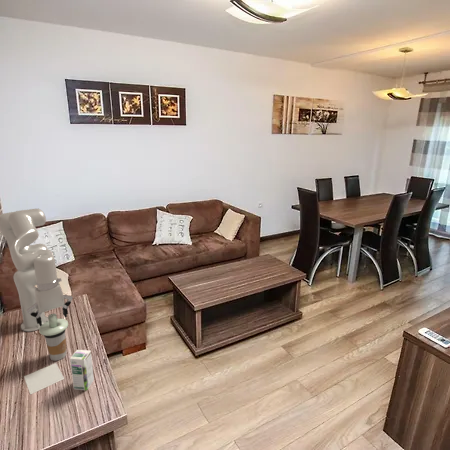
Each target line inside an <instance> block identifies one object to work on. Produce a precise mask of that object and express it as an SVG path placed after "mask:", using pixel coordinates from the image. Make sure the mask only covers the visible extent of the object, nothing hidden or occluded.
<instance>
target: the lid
mask: <svg viewBox="0 0 450 450" xmlns="http://www.w3.org/2000/svg"><path fill="white" fill-rule="evenodd" d="M47 317H48V320H49V321H47V322H45V323H44V324H42V326H40V328H39V330H38V331H39V334H40V335H42V336H44V335H45V336H51V335H55V334H58V333H61V332H63V331H64V330H65V331H66V329H67V328H68V327H69V321H68V320H67V319H65V318H58V316H57V313H51V314H49V315H48V316H47Z"/></svg>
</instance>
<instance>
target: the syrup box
mask: <svg viewBox="0 0 450 450" xmlns="http://www.w3.org/2000/svg"><path fill="white" fill-rule="evenodd" d="M69 365H70V369H71V378H72V386H73V389H74V390H77V391H88V390H89V388H90V387H91V385H92V384H93V382H94V381H95V377H94V368H93V367H94V366H93V359H92V350H87V349H76V351H74V353H72V356H70V358H69Z"/></svg>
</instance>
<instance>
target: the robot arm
mask: <svg viewBox="0 0 450 450" xmlns="http://www.w3.org/2000/svg"><path fill="white" fill-rule="evenodd" d="M46 221H47V218H46V215H45V213H44V211H43V210H42V209H40V208H30V209H22V210H16V211H11V212H5V213H1V214H0V233H1V235H2V236H3V237H4V239H5V241H6V243H7V245H8V250H9V252H10V253H9V254H10V257H11V260H12V263H13V264H14V267H15V268H16V270H17V271H15V272H14V274H13V281H14V284H15V288H16V290H17V293H18V299H19V303H20V304H19V305H20V307H21V313H22V320H23V322H22V323H21V324H20V329H21V330H22V331H23V332H34V331H39V328H40V326H42V324H44V323H45V322H47V321H49V320H48V316H47V315H46V313H45V312H49V311H52V310H55V309H58V308H62V314H63V317H64V318H68V315H69V312H68V311H69V310H68V309H69V306H70V304H71V303H72V301H73V296H72V295H67V294H64V293H63V290H62V286H61V285H60V282H62V277H60V278H58V274H57V266H56V265H57V264H56V260H55V255H54V252H53V251H52V250H50V249H48V247H47V246H46V244H44V243H35V244H34V242H36V241H37V240H38V238H39V235H40V233H39V232H38V229H37V227H40V226H42V227H43V226H44V225H45V224H46ZM36 286H37V287H36ZM65 299H66V300H67V301H65Z"/></svg>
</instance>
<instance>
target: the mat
mask: <svg viewBox="0 0 450 450" xmlns="http://www.w3.org/2000/svg"><path fill="white" fill-rule="evenodd" d="M23 378H24V381H25V385H26V386H27V389H28V391H29V395H30V396H31V395H32V394H35V393H36V392H39V391H41V390H43V389H45V388H48V387H50V386H52V385H55V384H56V383H58V382H60V381H62V380H65V377H64V375H63V373H62V371H61V369H60V368H59V366H58V364H57V362H55V363H52V364H50V365H48V366H45V367H43V368H41V369H38V370H36V371H34V372H31V373H29V374H27V375H24V376H23Z"/></svg>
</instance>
